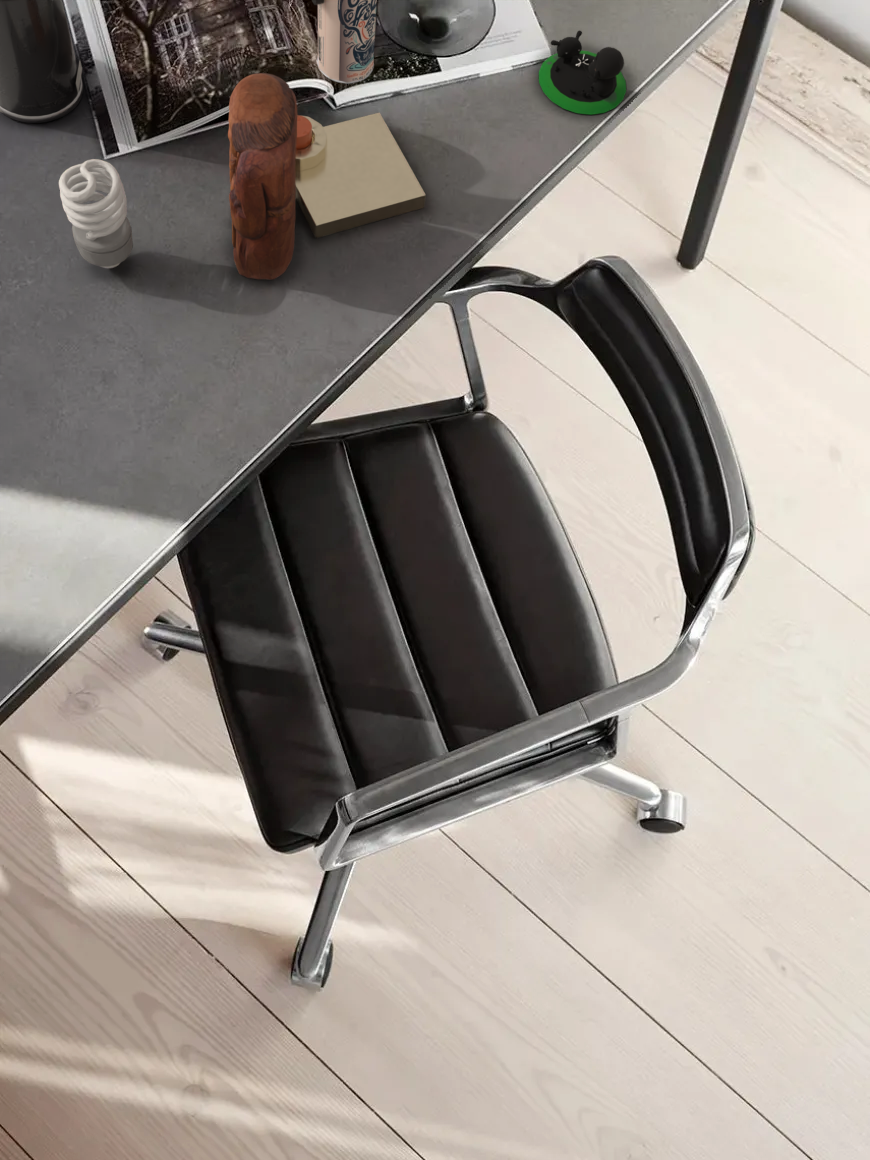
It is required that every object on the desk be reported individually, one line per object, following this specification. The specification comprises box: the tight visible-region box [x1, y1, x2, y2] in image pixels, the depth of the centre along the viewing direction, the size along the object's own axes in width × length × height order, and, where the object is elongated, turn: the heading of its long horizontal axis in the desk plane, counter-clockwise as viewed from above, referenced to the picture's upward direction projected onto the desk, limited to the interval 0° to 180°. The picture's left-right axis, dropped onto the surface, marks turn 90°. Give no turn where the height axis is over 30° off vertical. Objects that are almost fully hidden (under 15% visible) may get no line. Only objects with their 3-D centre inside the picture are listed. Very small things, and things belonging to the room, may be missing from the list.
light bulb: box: [58, 158, 134, 269], centre depth 104 cm, size 6×6×12 cm
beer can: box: [316, 0, 378, 85], centre depth 90 cm, size 5×5×12 cm
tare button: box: [296, 114, 312, 150], centre depth 113 cm, size 3×3×2 cm
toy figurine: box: [538, 30, 627, 116], centre depth 123 cm, size 10×10×6 cm
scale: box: [295, 112, 427, 239], centre depth 115 cm, size 13×13×4 cm
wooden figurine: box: [227, 72, 298, 280], centre depth 104 cm, size 12×6×18 cm, turn 179°
